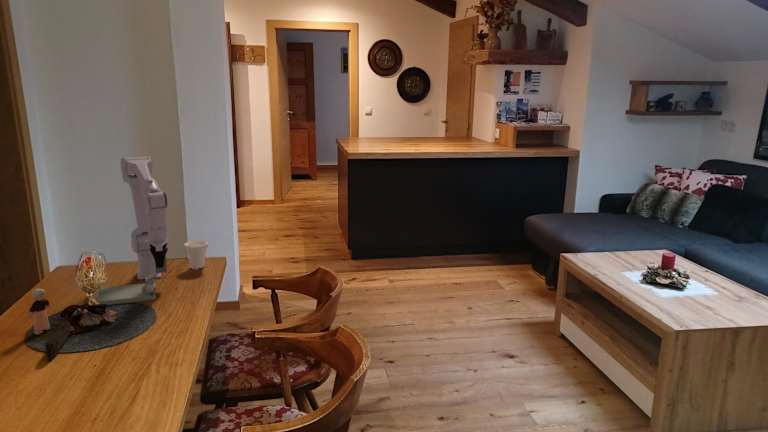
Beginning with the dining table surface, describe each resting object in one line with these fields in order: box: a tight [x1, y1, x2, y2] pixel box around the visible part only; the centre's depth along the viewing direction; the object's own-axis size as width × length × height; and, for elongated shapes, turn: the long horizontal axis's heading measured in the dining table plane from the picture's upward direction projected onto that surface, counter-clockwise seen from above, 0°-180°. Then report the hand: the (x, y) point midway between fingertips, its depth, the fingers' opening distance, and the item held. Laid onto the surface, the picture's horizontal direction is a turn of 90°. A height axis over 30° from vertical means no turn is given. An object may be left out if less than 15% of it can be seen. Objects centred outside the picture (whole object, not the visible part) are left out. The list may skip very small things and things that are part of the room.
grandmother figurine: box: [27, 287, 52, 335], centre depth 157 cm, size 8×4×13 cm, turn 179°
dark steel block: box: [155, 254, 168, 274], centre depth 190 cm, size 4×4×6 cm
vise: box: [86, 281, 157, 306], centre depth 184 cm, size 13×20×5 cm, turn 112°
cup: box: [182, 240, 209, 270], centre depth 213 cm, size 9×9×10 cm
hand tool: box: [44, 319, 71, 362], centre depth 149 cm, size 19×4×5 cm, turn 14°
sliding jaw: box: [144, 275, 155, 294], centre depth 187 cm, size 10×2×3 cm, turn 22°
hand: (159, 265), depth 190 cm, fingers closed on dark steel block, 4 cm apart
